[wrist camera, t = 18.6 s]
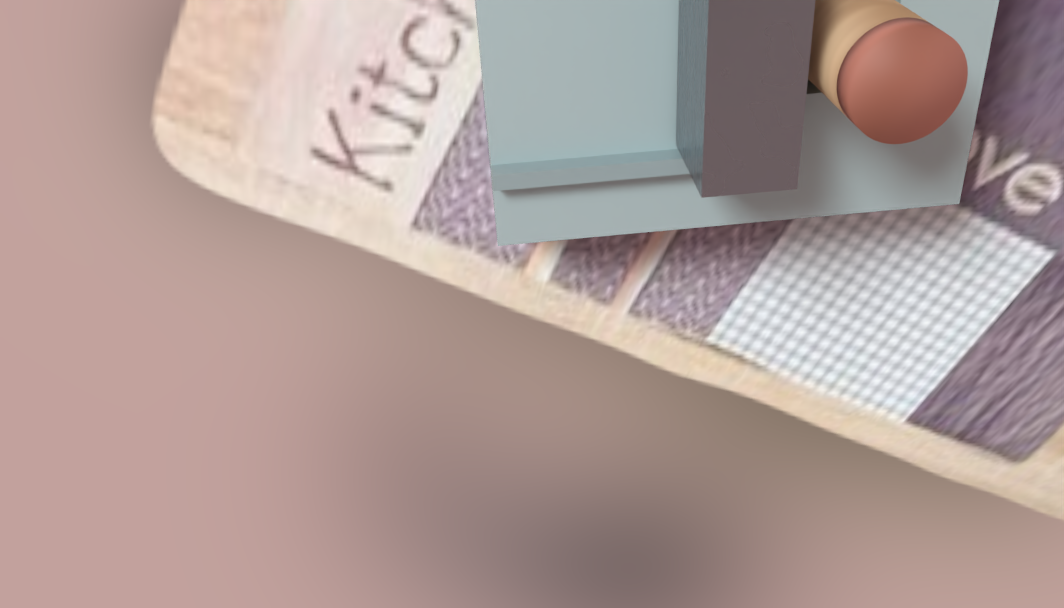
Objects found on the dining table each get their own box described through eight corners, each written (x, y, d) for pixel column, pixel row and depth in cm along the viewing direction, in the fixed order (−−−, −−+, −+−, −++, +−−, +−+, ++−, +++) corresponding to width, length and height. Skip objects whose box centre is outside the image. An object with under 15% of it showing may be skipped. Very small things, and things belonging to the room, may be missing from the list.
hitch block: (967, -240, 33) (1057, -223, 28) (906, 147, 41) (968, 214, 36) (456, -201, 33) (460, -176, 28) (492, 184, 40) (499, 256, 35)
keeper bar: (777, -76, 30) (819, -43, 27) (762, 136, 34) (797, 189, 31) (680, -69, 30) (709, -34, 27) (675, 144, 34) (701, 197, 31)
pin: (846, -53, 36) (983, 29, 27) (825, 41, 38) (948, 145, 29) (754, -57, 35) (865, 26, 27) (738, 38, 37) (838, 143, 29)
